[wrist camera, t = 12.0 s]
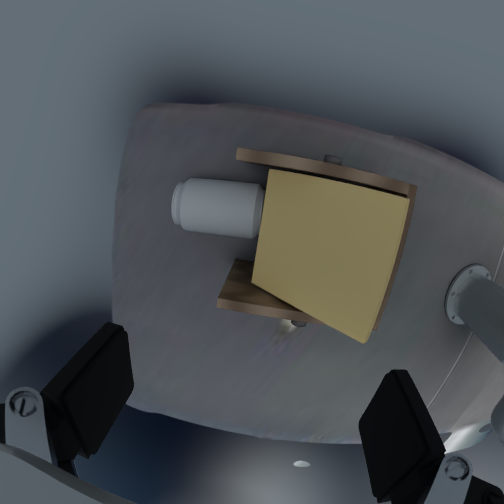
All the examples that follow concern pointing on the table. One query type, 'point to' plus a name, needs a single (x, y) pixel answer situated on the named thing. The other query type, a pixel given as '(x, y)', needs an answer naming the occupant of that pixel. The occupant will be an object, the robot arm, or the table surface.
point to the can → (219, 207)
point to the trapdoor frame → (240, 276)
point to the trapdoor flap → (328, 248)
